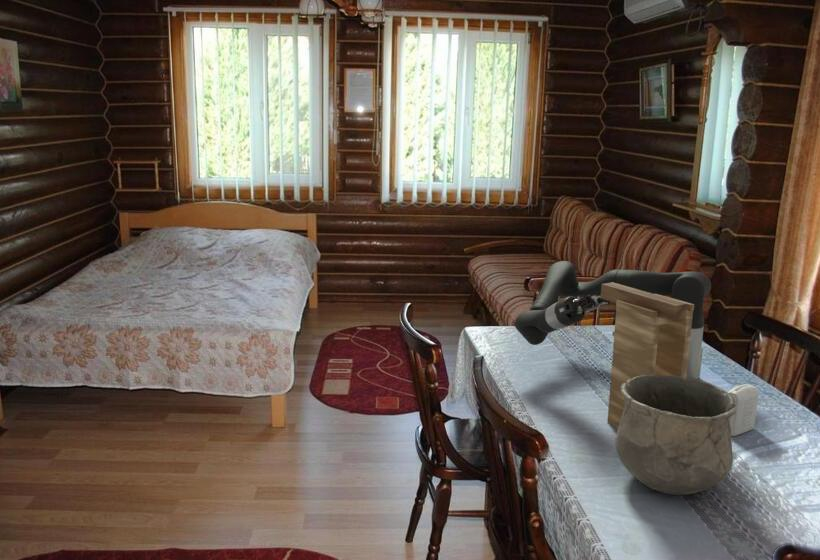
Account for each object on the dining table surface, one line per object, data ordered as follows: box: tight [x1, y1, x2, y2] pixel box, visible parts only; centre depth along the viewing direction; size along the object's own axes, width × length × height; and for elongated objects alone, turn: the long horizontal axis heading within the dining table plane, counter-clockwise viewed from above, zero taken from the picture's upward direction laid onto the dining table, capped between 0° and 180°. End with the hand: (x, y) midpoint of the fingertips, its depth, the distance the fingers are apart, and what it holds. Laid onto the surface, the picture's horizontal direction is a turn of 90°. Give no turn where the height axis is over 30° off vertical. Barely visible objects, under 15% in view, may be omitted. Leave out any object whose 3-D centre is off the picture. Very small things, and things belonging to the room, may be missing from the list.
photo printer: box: [727, 383, 760, 437], centre depth 177 cm, size 10×4×12 cm, turn 123°
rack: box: [607, 294, 694, 429], centre depth 177 cm, size 14×12×34 cm
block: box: [601, 282, 688, 322], centre depth 172 cm, size 4×24×4 cm, turn 29°
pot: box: [615, 375, 737, 496], centre depth 150 cm, size 25×24×21 cm
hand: (602, 296), depth 183 cm, fingers open, 8 cm apart
